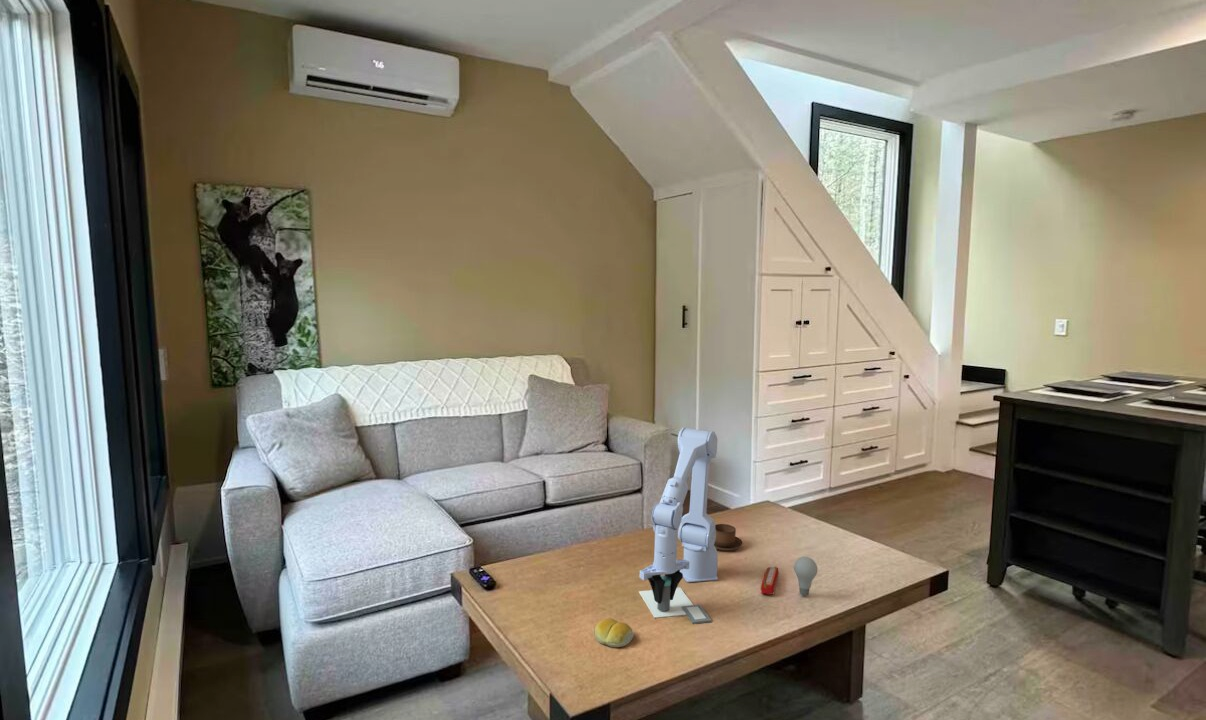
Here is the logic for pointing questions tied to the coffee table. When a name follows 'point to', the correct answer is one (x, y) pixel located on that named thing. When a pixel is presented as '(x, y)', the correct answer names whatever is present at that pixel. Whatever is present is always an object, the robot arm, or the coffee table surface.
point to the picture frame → (696, 614)
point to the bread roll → (613, 633)
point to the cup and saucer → (726, 538)
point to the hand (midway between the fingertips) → (663, 600)
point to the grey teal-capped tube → (665, 595)
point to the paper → (675, 604)
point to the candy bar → (769, 580)
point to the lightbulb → (805, 574)
